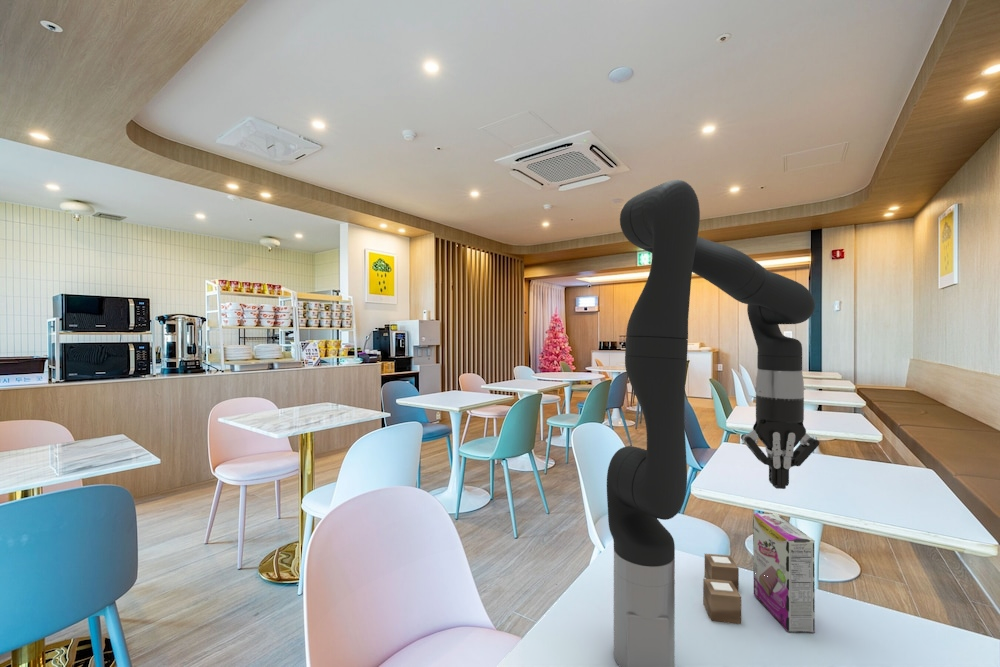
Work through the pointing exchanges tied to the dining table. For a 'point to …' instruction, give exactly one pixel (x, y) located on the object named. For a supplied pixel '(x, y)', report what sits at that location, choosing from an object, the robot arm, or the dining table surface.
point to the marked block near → (722, 601)
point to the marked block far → (721, 568)
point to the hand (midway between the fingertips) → (778, 487)
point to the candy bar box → (784, 572)
